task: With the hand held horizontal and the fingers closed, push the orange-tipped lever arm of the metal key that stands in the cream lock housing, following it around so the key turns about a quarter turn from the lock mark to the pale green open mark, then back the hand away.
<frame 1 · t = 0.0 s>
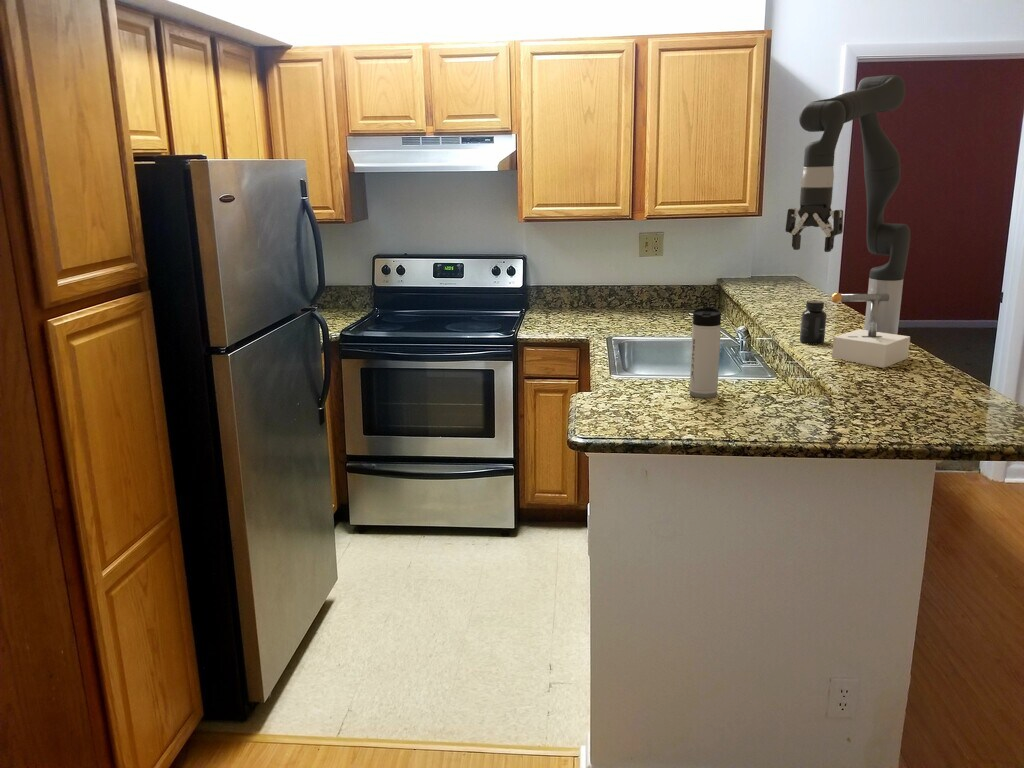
hand: (811, 250, 205), 29 cm above the countertop, tool pointing down, fingers open, 8 cm apart
supplement bottle: (811, 343, 235), on the countertop
lock housing: (869, 358, 214), on the countertop
T-key: (853, 314, 211), point 12 cm above the countertop, hinge at -45.0°
travel mug: (703, 395, 185), on the countertop
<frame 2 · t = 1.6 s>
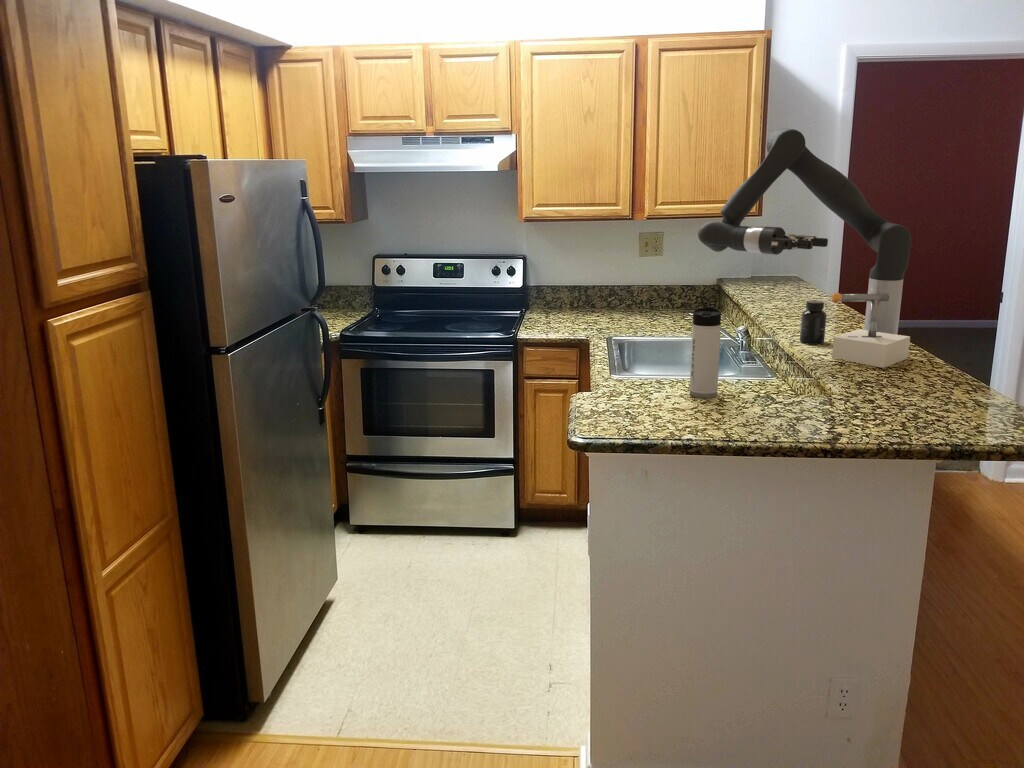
hand: (819, 243, 212), 30 cm above the countertop, tool horizontal, fingers open, 7 cm apart
nothing on the countertop moved.
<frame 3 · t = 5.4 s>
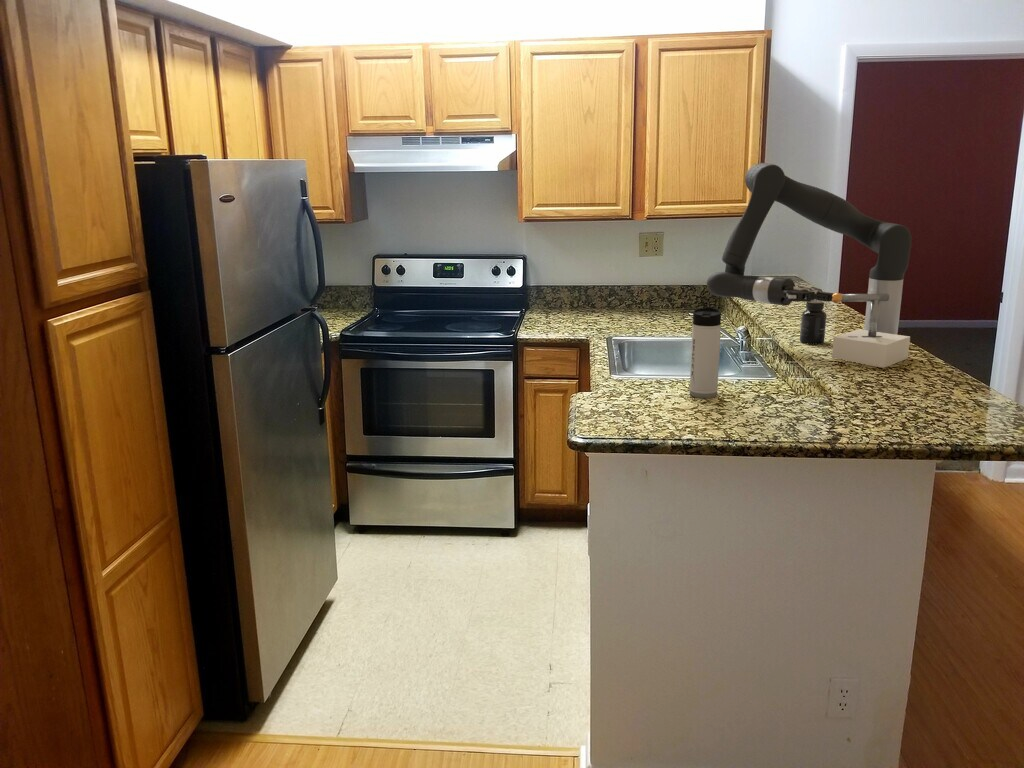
hand: (832, 297, 211), 16 cm above the countertop, tool horizontal, fingers closed
T-key: (854, 314, 211), point 12 cm above the countertop, hinge at -43.9°, touching gripper
everything else where it was.
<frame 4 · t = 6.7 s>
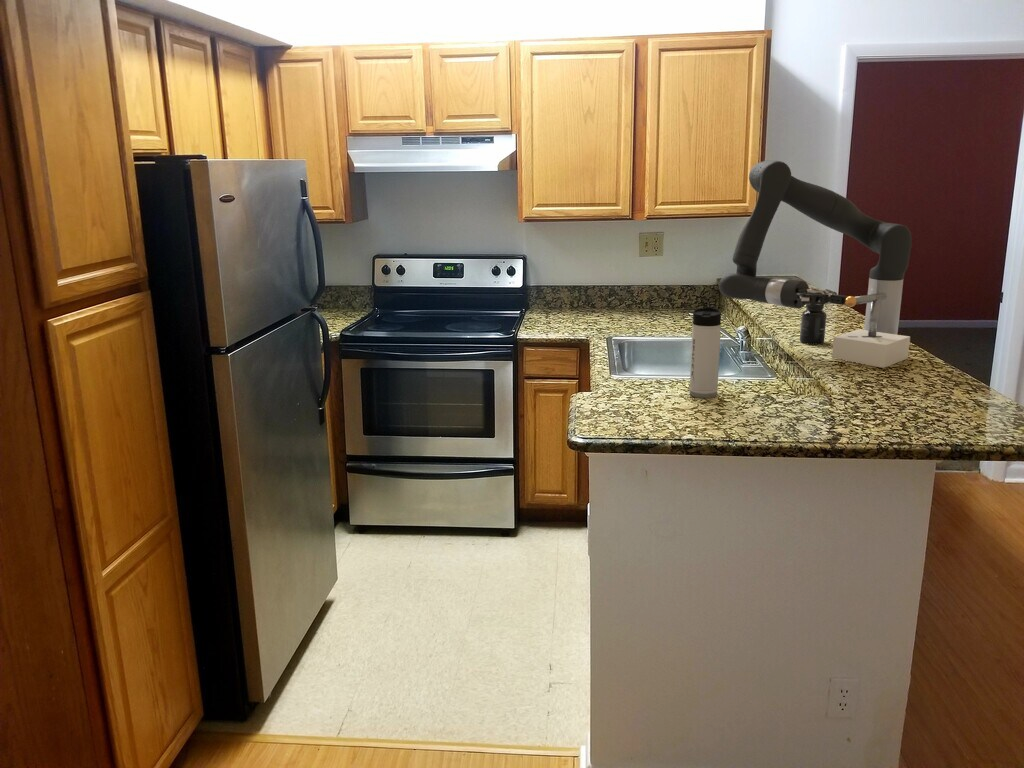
hand: (846, 300, 206), 16 cm above the countertop, tool horizontal, fingers closed
T-key: (861, 316, 208), point 12 cm above the countertop, hinge at -11.3°, touching gripper
everything else where it was.
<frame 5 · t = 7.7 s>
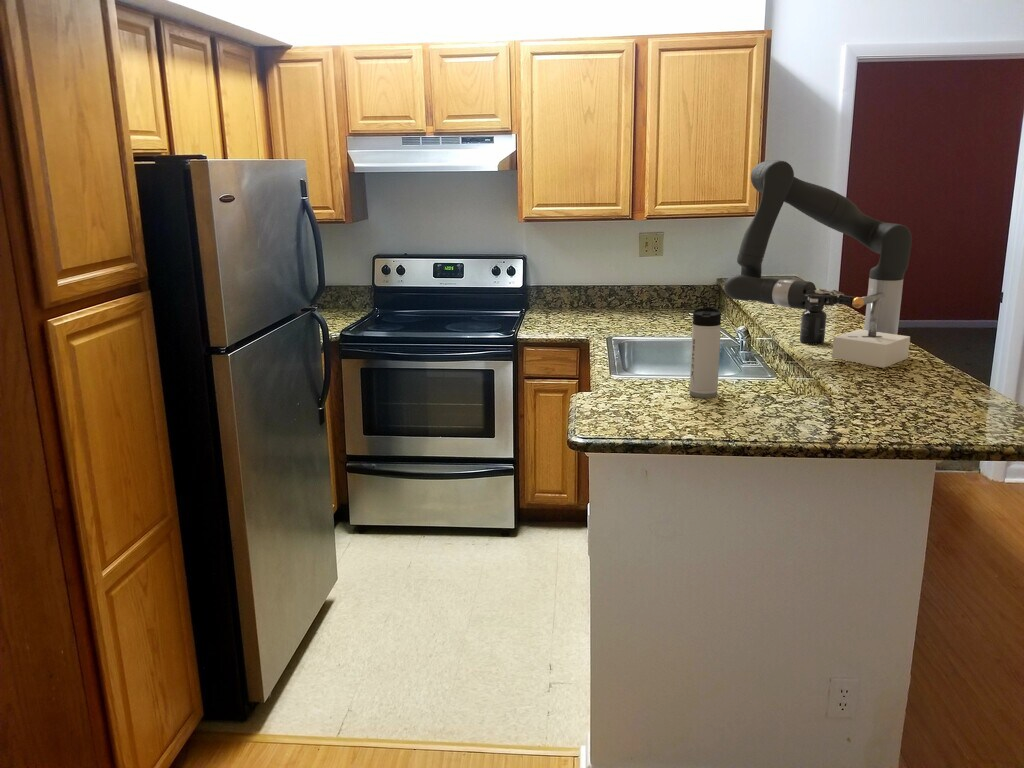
hand: (855, 301, 205), 16 cm above the countertop, tool horizontal, fingers closed
T-key: (865, 316, 208), point 12 cm above the countertop, hinge at 0.4°, touching gripper
everything else where it was.
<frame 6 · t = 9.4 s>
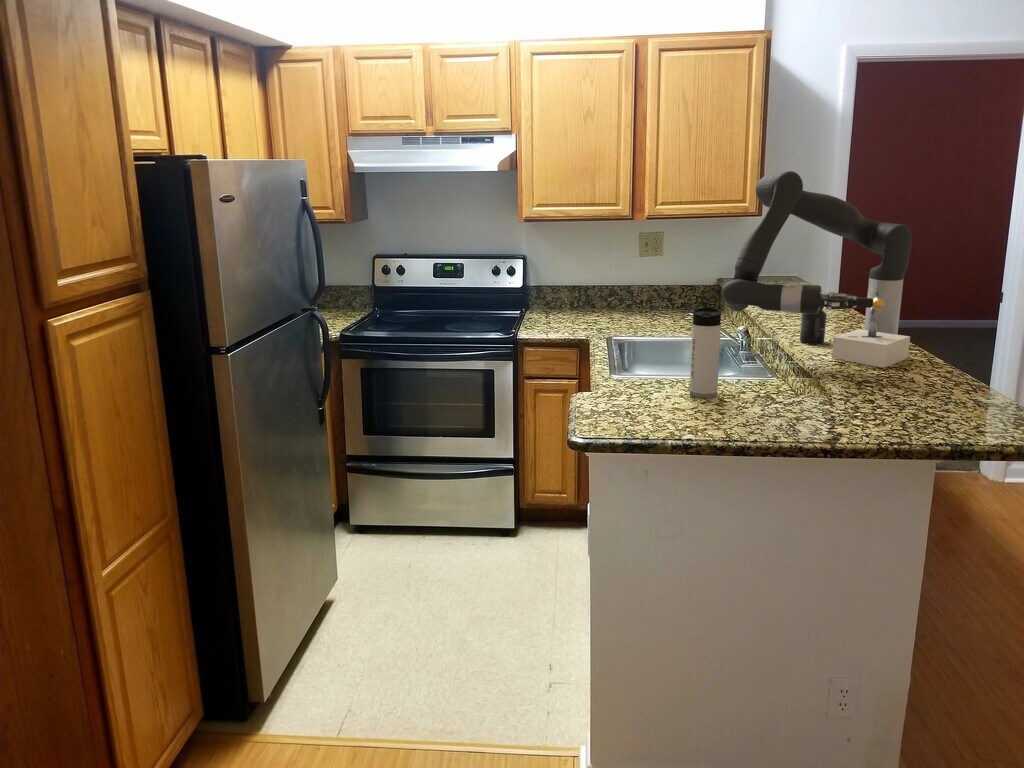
hand: (872, 303, 202), 16 cm above the countertop, tool horizontal, fingers closed
T-key: (875, 317, 206), point 12 cm above the countertop, hinge at 28.1°, touching gripper
everything else where it was.
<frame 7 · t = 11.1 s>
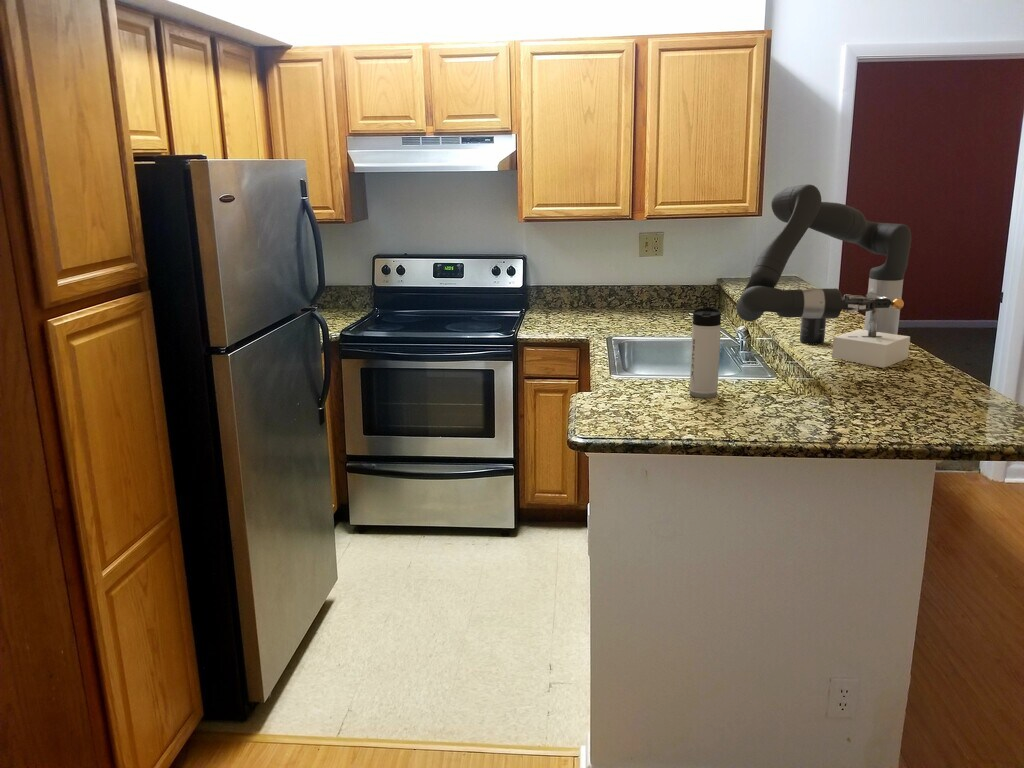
hand: (888, 303, 201), 17 cm above the countertop, tool horizontal, fingers closed
T-key: (885, 317, 206), point 12 cm above the countertop, hinge at 54.8°
everything else where it was.
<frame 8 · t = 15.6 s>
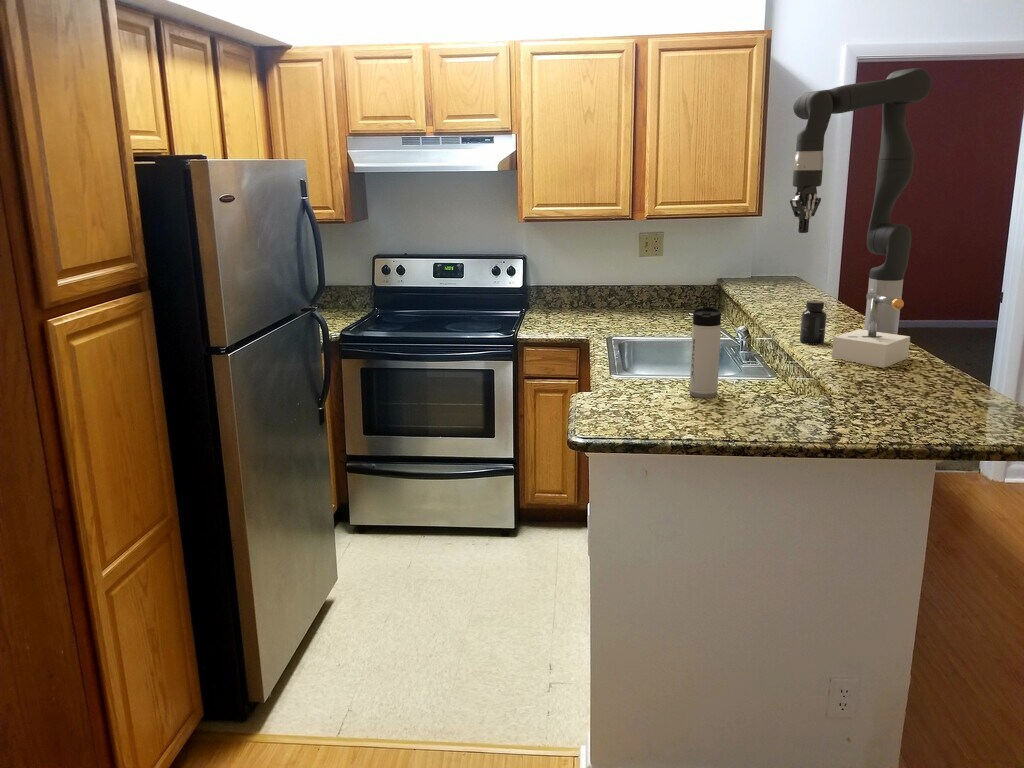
hand: (803, 232, 224), 32 cm above the countertop, tool pointing down, fingers closed
nothing on the countertop moved.
at the end: T-key at +55° (first picture: -45°) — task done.
